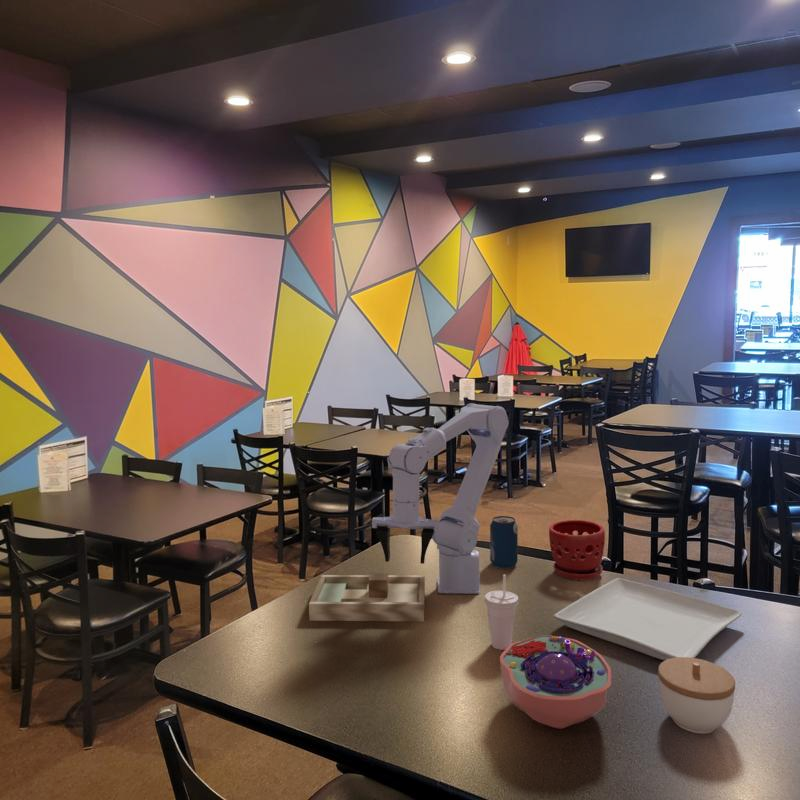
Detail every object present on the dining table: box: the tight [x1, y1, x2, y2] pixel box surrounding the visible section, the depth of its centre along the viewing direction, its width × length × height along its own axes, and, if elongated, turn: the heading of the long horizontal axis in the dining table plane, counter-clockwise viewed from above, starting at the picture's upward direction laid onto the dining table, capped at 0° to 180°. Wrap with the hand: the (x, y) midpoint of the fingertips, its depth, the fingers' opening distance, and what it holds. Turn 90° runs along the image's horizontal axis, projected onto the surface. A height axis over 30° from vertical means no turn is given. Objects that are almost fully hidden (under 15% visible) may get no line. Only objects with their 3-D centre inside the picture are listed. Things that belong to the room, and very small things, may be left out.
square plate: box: [553, 577, 743, 661], centre depth 133 cm, size 27×27×4 cm
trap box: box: [308, 574, 426, 622], centre depth 146 cm, size 24×16×4 cm, turn 87°
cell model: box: [499, 635, 612, 729], centre depth 104 cm, size 17×20×11 cm
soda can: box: [489, 515, 519, 570], centre depth 169 cm, size 7×7×12 cm
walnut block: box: [369, 572, 389, 598], centre depth 145 cm, size 4×4×4 cm
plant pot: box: [548, 519, 606, 581], centre depth 162 cm, size 13×13×12 cm
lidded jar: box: [657, 657, 736, 735], centre depth 101 cm, size 11×11×9 cm
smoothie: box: [484, 573, 519, 651], centre depth 126 cm, size 6×6×14 cm
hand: (405, 561), depth 144 cm, fingers open, 7 cm apart
